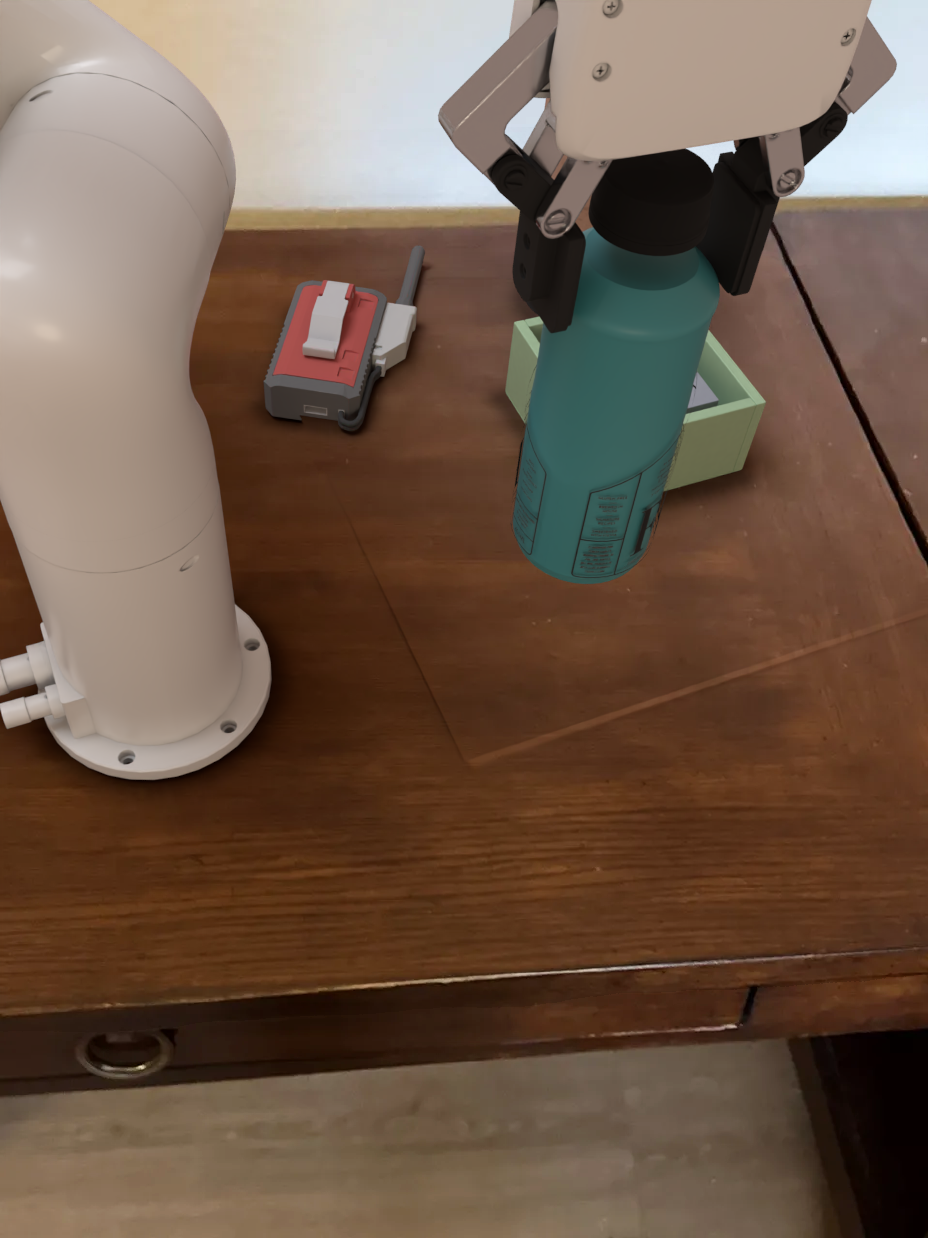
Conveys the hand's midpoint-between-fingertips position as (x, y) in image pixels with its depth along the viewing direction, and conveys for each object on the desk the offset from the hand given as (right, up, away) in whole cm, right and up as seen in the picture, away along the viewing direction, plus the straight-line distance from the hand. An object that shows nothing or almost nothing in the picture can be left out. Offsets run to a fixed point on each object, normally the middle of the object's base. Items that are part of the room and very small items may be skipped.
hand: (633, 286), depth 44 cm
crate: (+4, 0, +38) cm, 39 cm away
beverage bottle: (-1, -9, +12) cm, 15 cm away
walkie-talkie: (-14, +8, +43) cm, 46 cm away
